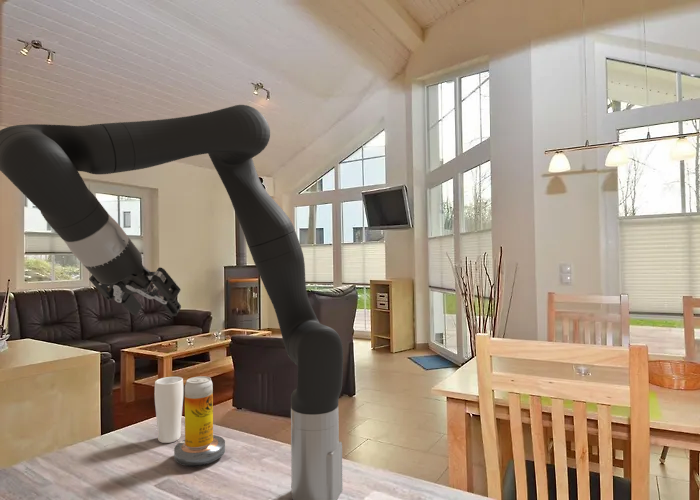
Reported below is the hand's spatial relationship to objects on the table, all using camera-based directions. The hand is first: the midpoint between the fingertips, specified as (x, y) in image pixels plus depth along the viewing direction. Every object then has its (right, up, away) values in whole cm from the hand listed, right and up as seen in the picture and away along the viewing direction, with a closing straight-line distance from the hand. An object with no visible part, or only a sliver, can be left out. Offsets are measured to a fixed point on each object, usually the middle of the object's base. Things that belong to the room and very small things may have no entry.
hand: (156, 311), depth 78 cm
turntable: (0, -37, +21) cm, 42 cm away
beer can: (0, -34, +21) cm, 40 cm away
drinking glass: (-11, -37, +32) cm, 50 cm away
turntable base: (0, -37, +21) cm, 42 cm away
